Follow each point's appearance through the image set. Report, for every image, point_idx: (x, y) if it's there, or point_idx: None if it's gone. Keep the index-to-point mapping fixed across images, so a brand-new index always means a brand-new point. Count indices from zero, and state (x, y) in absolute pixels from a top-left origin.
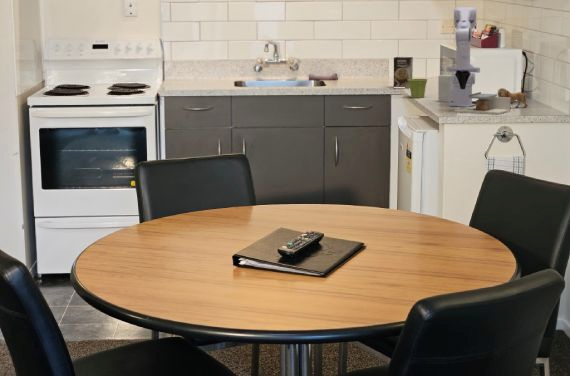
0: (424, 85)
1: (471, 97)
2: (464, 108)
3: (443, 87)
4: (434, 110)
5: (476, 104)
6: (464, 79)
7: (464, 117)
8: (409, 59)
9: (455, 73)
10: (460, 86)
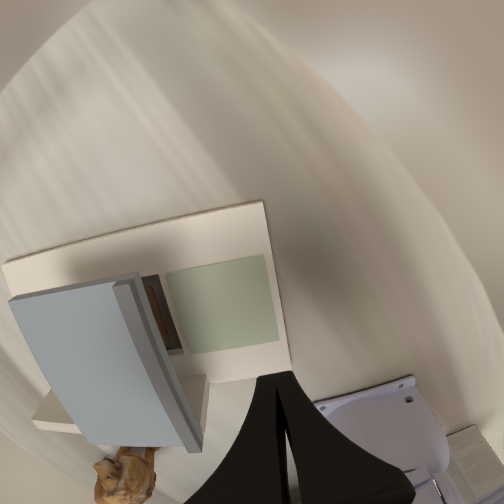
0: None
1: (113, 279)
2: (241, 294)
3: (482, 466)
4: (413, 200)
5: None
6: (225, 456)
7: (67, 47)
8: None
9: (404, 488)
10: (290, 385)
